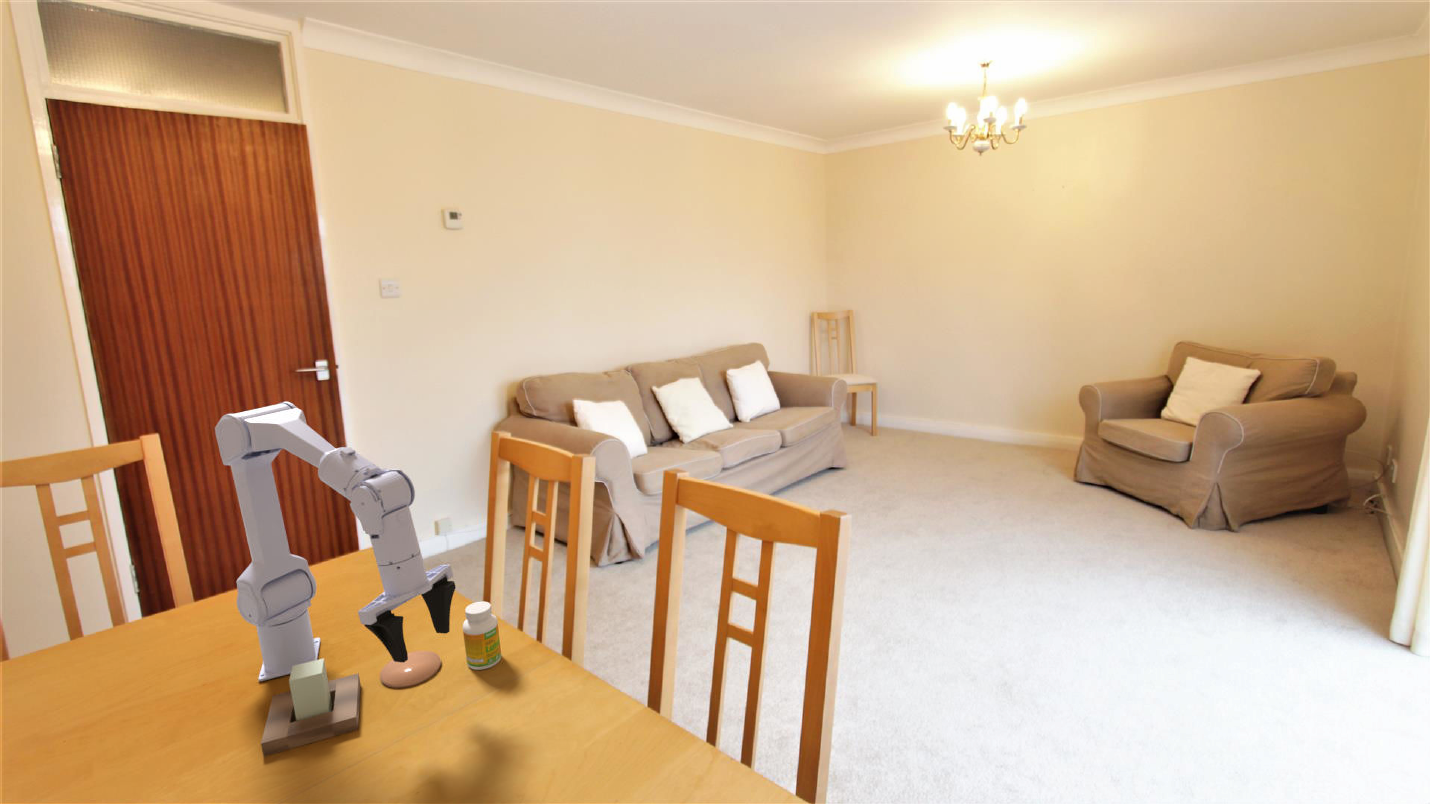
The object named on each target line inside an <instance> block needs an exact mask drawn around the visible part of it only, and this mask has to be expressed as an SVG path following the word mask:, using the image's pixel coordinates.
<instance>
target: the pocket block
mask: <svg viewBox="0 0 1430 804" xmlns="http://www.w3.org/2000/svg"><path fill="white" fill-rule="evenodd" d="M328 684H329V690H330V696H331V702H332V704H333V709H332V712H328V713H324V714H321V715H317V716H314V717H310V718H306V719H303V720H299V721H296V716H295V710H294V705H293V700H292V694H291V690H289V691H285V692H281V693H278V694H273V695H272V698H271V699H272V700H271V703H270V706H269V711H268V714H267V718H266V723H265V726H264V730H263V734H262V738H261V741H260V745H261V746H260V747H261V750H262V755H263V757H266V756H270V755H273V754H277V753H280V752H284V751H288V750H291V749H295V748H297V747H302V746H305V745H308V744H312V743H315V742H318V741H322V740H325V739H328V738H332V737H336V736H339V735H343V734H346V733H350V732H353V731H356V730H359V723H360V722H359V718H360V702H361V698H360V697H361V685H362V684H361V679H360V673H354V674H351V675H347V676H343V677H340V678H335V679H331V680H328Z"/></svg>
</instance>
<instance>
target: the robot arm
mask: <svg viewBox="0 0 1430 804" xmlns="http://www.w3.org/2000/svg"><path fill="white" fill-rule="evenodd" d="M214 430H215V438H216V442H217V445H218V450H219V454H220V458H221V461H222V464H223V465H224V466H230V470H231V473H232V479H233V481H234V487H235V491H236V495H237V496H236V497H237V500H238V505H239V509H240V512H241V514H240V515H241V517H242V522H243V526H244V531H245V535H246V541H247V544H248V549H249V552H250V557H251V562H250V564H248V566H247V567H246V568H245V570H244V571H243V572H242V573H241V575H240V576H239V577H238V578H237V580H236V588H237V597H236V607H237V610H238V612H239V614H240V616H241V618H243V620H244V621H245V622H247V623H248V624H251V625H253V626H255V628H256V633H257V637H258V642H259V643H258V644H259V648H260V652H261V657H262V665H261V669H260V671H259V674H258V677H257V679H258V681H259V682H263V681H267V680H271V679H272V680H273V679H274V678H275V679H276V678H279V677H284V676H288V675H291V670H292V666H295V665H299V664H303V663H307V662H311V661H315V660H318V657H319V653H320V652H319V650H320V646H321V645H320V644H321V638H320V637H315V638H314V635H313V628H312V623H311V617H310V612H309V609H308V608H310V607H311V606H312V603H311V601H312V600H313V598H315V596H316V593H317V581H316V578H315V576H314V574H313V573H312V571H311V569H310V566H309V564H308V560H307V559H305V558H304V557H302V556H299V555H296V554H292V553H291V550H290V547H289V542H288V541H289V540H288V536H287V533H286V528H285V524H284V523H285V522H284V519H283V518H284V517H283V514H282V509H281V505H280V499H279V495H278V490H277V485H276V481H275V476H274V472H273V467H272V463H273V461H274V460H275V458H276V457H277V456H278V455H279V453H280V452H281V451H282V450H285V451H287V452H289V453H291V454H292V455H294V456H296V457H298V458H299V459H302V460H303V461H305V462H306V463H309V464H310V465H312V466H314V467H316V468H318V469H317V476H318V478H319V480H320V481H321V482H323V483H324V484H325V485H327V486H329V487H330V488H332V490H334V491H336V492H337V493H338V494H340V495H342V497H344V498H346V499H347V500H348V501H350V503H349V506H350V509H351V511H352V513H353V514H354V516H355V517H356V518H357V519H358V521H359V522H360V524H361V527H362V528H361V529H362V530H363V531H364V533H365V535H368V536H369V540H370V543H371V546H372V550H373V555H374V557H375V562H376V565H377V569H378V572H379V576H380V580H381V583H382V588H383V592H382V593H381V594H379V596H377V597H376V598H375V599H373V600H372V601H371V602H369V603H368V604H366V605H365V606H363V607H362V608H361V609H359V610H358V611H357V614H358V617H359V621H360V624H361V625H364V627H365V628H366V629H367V630H369V631H370V632H371V633H372V634H374V635H375V636H376V637H377V639H378V640H379V641H380V642H381V643H382V644H383V646H384V647H385V649H386V651H387V652H388V654H389V656H390V657H391V659H392V660H394V662H405V661H407V660H408V654H407V653H408V650H407V646H406V642H405V638H404V616H403V615H395V613H394V612H393V613H392V611H393V610H396V609H397V608H399V607H401V606H402V605H403V604H405V603H408V601H409V602H410V600H412V599H414V598H416V597H417V596H420V595H421V597H422V599H423V600H424V602H425V604H426V607H427V609H428V613H429V614H430V615H429V616H430V620H431V622H432V624H433V627H434V631H435V632H436V634H443V635H446V634H448V633H450V625H451V624H450V622H451V621H450V617H451V606H452V601H453V596H454V593H455V591H456V583H455V581H454V580H450V579H452V578H453V577H454V573H453V570H452V566H451V564H440V565H439V566H436V567H434V568H432V569H430V570H426V567H425V563H424V560H423V555H422V551H421V548H420V542H419V540H418V536H417V532H416V528H415V524H414V521H413V518H412V513H411V510H410V507H411V505H413V503H414V502H415V497H416V490H415V486H414V483H413V482H412V480H411V478H410V477H409V476H408V475H407V474H406V473H405V472H404V470H402V469H400V468H392V469H388V468H387V467H385V468H380V467H379V466H377V465H376V464H374V463H373V462H372V461H370V460H368V459H367V458H365V457H364V456H363V455H361V454H359V453H358V452H357V451H356V450H355V449H353V448H352V447H346V446H342V447H338V448H335V446H333V445H332V444H331V443H330V442H328V441H327V440H326V439H325V438H324V437H322V436H321V435H320V434H319V433H318V432H317V431H315V430H314V429H312V427H310V426H309V425H308V424H307V420H306V416H305V413H304V411H303V410H302V409H299V408H298V407H297V406H296V405H295V404H294V403H292V402H289V401H282V402H279V403H277V404H272V405H268V406H263V407H260V408H253V409H250V410H246V411H245V410H244V411H242V412H237V413H226V414H224V415H223V416H222V417H221V418H220V419H219V420H218V422H217V424H216V426H215V427H214Z"/></svg>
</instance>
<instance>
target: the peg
mask: <svg viewBox="0 0 1430 804" xmlns="http://www.w3.org/2000/svg"><path fill="white" fill-rule="evenodd" d="M289 675H290V676H289V679H288V685H289V689H290V691H291V694H292V700H293V705H294V710H295V716H296V717H295V721H299V720H303V719H306V718H310V717H314V716H317V715H321V714H324V713H328V712H332V711H333V703H332V702H331V696H330V690H329V684H328V681H329V679H328V674H327V668H326V662H325V658H320V659H317V660H315V661H311V662H307V663H303V664H299V665H295V666H292V670H291V674H289Z"/></svg>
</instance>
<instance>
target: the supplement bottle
mask: <svg viewBox="0 0 1430 804" xmlns="http://www.w3.org/2000/svg"><path fill="white" fill-rule="evenodd" d="M464 612H465V620H464V621H463V623H462V634H463V635H462V636H463V642H464V650H465V659H466V665H467V666H468V667H469V668H470V669H471V670H477V671H479V670H487V669H489V668H493V667H494V666H496V665H497V664H498V663H499V662H500V661H501V659H502V651H501V650H502V649H501V641H500V633H499V631H500V630H499V623H498V618H497V616H496V615H495V614H493V613H492V604H491V603H490V602H488V601H476V602H472V603H471V604H469V605H467V606H466V608H465V609H464Z"/></svg>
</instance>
